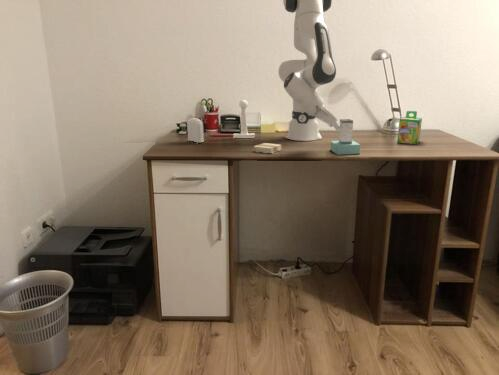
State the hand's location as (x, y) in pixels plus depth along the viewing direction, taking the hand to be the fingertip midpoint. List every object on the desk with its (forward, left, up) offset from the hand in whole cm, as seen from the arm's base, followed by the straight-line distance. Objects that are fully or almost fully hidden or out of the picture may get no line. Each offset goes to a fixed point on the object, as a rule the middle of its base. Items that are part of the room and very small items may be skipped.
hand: (335, 127), depth 185 cm
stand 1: (+2, -29, -11) cm, 32 cm away
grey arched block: (-12, -69, -11) cm, 71 cm away
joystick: (-28, -48, -11) cm, 57 cm away
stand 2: (-2, +5, -11) cm, 12 cm away
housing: (-2, +5, -7) cm, 8 cm away
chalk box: (-29, +34, -11) cm, 45 cm away
